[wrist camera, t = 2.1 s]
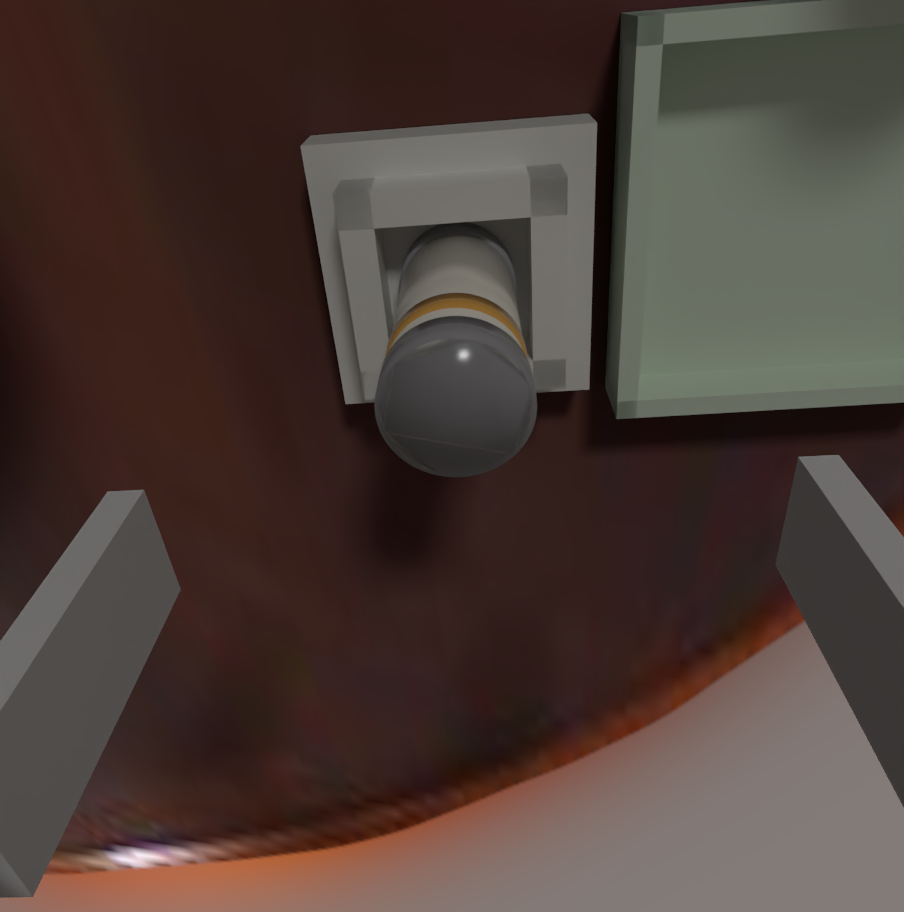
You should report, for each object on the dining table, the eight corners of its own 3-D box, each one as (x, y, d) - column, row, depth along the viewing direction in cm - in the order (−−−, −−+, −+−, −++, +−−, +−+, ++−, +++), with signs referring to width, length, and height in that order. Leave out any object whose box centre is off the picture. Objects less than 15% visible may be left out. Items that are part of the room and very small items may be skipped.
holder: (351, 381, 32) (338, 429, 29) (310, 135, 27) (288, 157, 23) (582, 367, 31) (596, 413, 28) (588, 113, 26) (607, 133, 23)
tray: (605, 386, 32) (616, 419, 30) (620, 12, 24) (638, 16, 22) (936, 366, 31) (974, 398, 29) (1058, -25, 24) (1123, -26, 21)
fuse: (407, 334, 29) (385, 481, 20) (395, 225, 26) (363, 340, 18) (515, 327, 28) (537, 472, 20) (512, 217, 26) (536, 329, 18)
